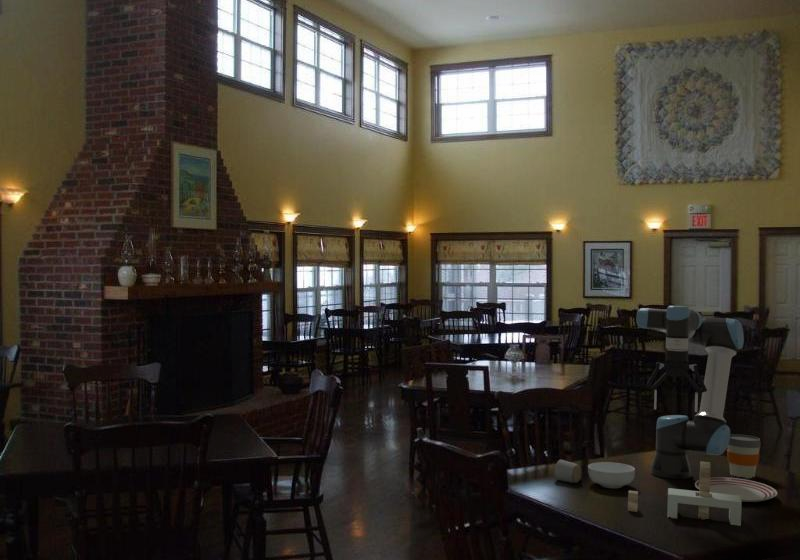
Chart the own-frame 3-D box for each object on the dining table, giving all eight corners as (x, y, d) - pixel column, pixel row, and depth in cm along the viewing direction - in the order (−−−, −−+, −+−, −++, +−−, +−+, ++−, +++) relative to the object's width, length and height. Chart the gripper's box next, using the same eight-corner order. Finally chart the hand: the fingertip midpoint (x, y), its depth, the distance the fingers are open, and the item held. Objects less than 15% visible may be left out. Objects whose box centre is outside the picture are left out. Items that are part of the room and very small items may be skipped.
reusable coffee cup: (766, 479, 316) (767, 440, 316) (736, 479, 314) (737, 441, 314) (747, 471, 329) (749, 434, 328) (719, 471, 327) (720, 434, 326)
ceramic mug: (573, 485, 299) (574, 464, 299) (553, 481, 304) (554, 461, 304) (586, 480, 308) (586, 460, 308) (566, 476, 313) (567, 456, 313)
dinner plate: (773, 511, 273) (773, 502, 273) (688, 498, 286) (688, 489, 286) (780, 493, 297) (780, 484, 297) (701, 482, 310) (701, 473, 310)
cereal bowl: (613, 478, 312) (614, 459, 312) (644, 489, 297) (644, 470, 297) (578, 482, 304) (578, 463, 304) (607, 493, 289) (608, 474, 289)
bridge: (667, 510, 270) (668, 488, 270) (738, 518, 264) (739, 495, 263) (667, 517, 263) (668, 494, 263) (740, 525, 256) (741, 502, 256)
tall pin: (698, 516, 265) (700, 461, 265) (708, 517, 264) (710, 462, 264) (698, 518, 262) (700, 463, 262) (708, 519, 261) (710, 464, 261)
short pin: (628, 508, 272) (628, 490, 272) (637, 509, 271) (638, 491, 271) (627, 510, 269) (628, 492, 269) (637, 511, 268) (637, 493, 268)
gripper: (639, 349, 284) (638, 409, 285) (715, 352, 277) (714, 414, 278) (640, 347, 292) (638, 405, 292) (714, 350, 284) (712, 410, 285)
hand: (675, 410), depth 285 cm, fingers open, 13 cm apart
